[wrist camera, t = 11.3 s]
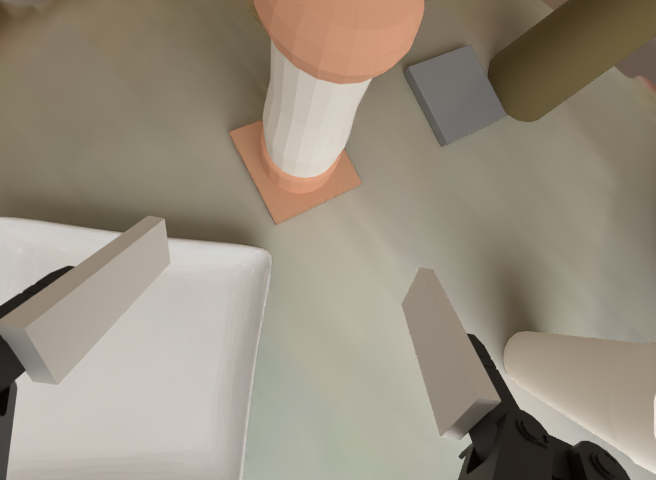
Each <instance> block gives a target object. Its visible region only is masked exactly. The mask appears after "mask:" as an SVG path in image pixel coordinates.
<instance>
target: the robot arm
mask: <svg viewBox="0 0 656 480" xmlns="http://www.w3.org/2000/svg"><path fill="white" fill-rule="evenodd" d="M170 263H171V262H170V255H169V247H168V240H167V232H166V225H165V218H159V217H154V216H149V215H148V216H147V217H145V218H144V219H143V220H141V221H140V222H138V223H137V224H135V225H134V226H133V227H131V228H130V229H128V230H127V231H125V232H124V233H123V234H121V235H120V236H118V237H117V238H116V239H114V240H113V241H111V242H110V243H108V244H107V245H106V246H104V247H103V248H101V249H100V250H98V251H97V252H96V253H94V254H93V255H91V256H90V257H88V258H87V259H86V260H84V261H83V262H81V263H80V264H78V265H77V266H76V267H75V266H69V265H68V266H66V267H63V268H61V269H58V270H56V271H54V272H51V273H49V274H48V275H46V276H45V277H43V278H42V279H40V280H39V281H37V282H36V283H35V285H31V286H30V287H28V288H26V289H25V290H23V292H22V293H19V294H17V295H16V296H14V297H13V298H11V299H10V300H8V301H7V302H5V303H4V304H2V305H1V306H0V480H6V476H7V468H8V460H9V452H10V444H11V436H12V428H13V420H14V412H15V404H16V396H17V384H16V381H15V380H16V379H17V378H18V377H19V376H20V375H22V374H23V373H24V372H25V371H26V373H27V374H28V376H29V377H30V379H31V380H32V382H39V383H46V384H53V385H58V384H59V383H60V382H61V381H62V380H63V379H64V378H65V377H66V376H67V375H68V374H69V373H70V371H71V370H72V369H73V368H74V367H75V366H76V365H77V364H78V363H79V362H80V361H81V360H82V358H83V357H84V356H85V355H86V354H87V353H88V352H89V351H90V350H91V349H92V348H93V347H94V345H95V344H96V343H97V342H98V341H99V340H100V339H101V338H102V337H103V336H104V335H105V334H106V332H107V331H108V330H109V329H110V328H111V327H112V326H113V325H114V324H115V323H116V322H117V321H118V319H119V318H120V317H121V316H122V315H123V314H124V313H125V312H126V311H127V310H128V309H129V308H130V307H131V305H132V304H133V303H134V302H135V301H136V300H137V299H138V298H139V297H140V296H141V295H142V294H143V292H144V291H145V290H146V289H147V288H148V287H149V286H150V285H151V284H152V283H153V282H154V281H155V279H156V278H157V277H158V276H159V275H160V274H161V273H162V272H163V271H164V270H165V269H166V268H167V266H168V265H169V264H170ZM402 307H403V311H404V314H405V318H406V321H407V324H408V328H409V331H410V335H411V338H412V341H413V345H414V348H415V352H416V355H417V358H418V362H419V365H420V369H421V372H422V375H423V379H424V382H425V386H426V389H427V392H428V396H429V399H430V403H431V406H432V409H433V413H434V416H435V420H436V423H437V426H438V430H439V433H440V437H443V438H451V439H458V440H461V439H462V438H463V437H464V436H465V435H466V434H467V433H468V432H469V435H470V437H471V440H472V444H470V445H469V446H468V447H467V448H466V449H465V450H464V451H462V452H461V454H460V455H459V458H460V459H462V458H464V457H465V456H466V457H465V460H464V463H463V466H462V469H461V472H460V475H459V479H458V480H630V478H629V476H628V475H627V473H626V471H625V470H624V469H623V467H622V466H621V465H620V464H619V463H618V461H617V460H616V459H615V458H614V457H612V456H611V455H610V454H609V453H608V452H607V451H606V450H604V449H603V448H601V447H600V446H598V445H597V444H595V443H592V442H590V441H581V442H579V443H578V444H576V445H574V446H572V445H570V444H568V443H566V442H564V441H561V440H559V439H557V438H555V437H553V436H551V435H549V434H548V433H547V431H546V430H545V429H544V427H543V426H542V425H541V424H540V423H539V422H538V421H537V420H536V419H535V418H534V417H533V416H532V415H530V414H528V413H527V412H525V411H523V410H520V408H519V407H518V405H517V403H516V401H515V400H514V398H513V396H512V394H511V392H510V391H509V389H508V387H507V385H506V384H505V382H504V380H503V378H502V376H501V375H500V373H499V371H498V370H497V369H496V366H495V364H494V362H493V360H491V357H490V355H489V353H488V352H487V350H486V348H485V346H484V345H483V344H482V343H481V342H480V341H479V340H478V338H477V337H476V336H475V335H473V334H467V333H466V332H465V330H464V328H463V326H462V324H461V322H460V320H459V318H458V316H457V314H456V312H455V311H454V309H453V307H452V305H451V303H450V301H449V299H448V297H447V295H446V293H445V291H444V289H443V287H442V285H441V284H440V282H439V280H438V278H437V276H436V274H435V272H434V270H430V269H425V268H419V271H418V273H417V275H416V277H415V279H414V281H413V283H412V285H411V287H410V289H409V291H408V293H407V295H406V297H405V299H404V301H403V303H402Z"/></svg>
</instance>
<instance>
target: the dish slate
mask: <svg viewBox="0 0 656 480" xmlns="http://www.w3.org/2000/svg"><path fill="white" fill-rule="evenodd" d="M404 74H405V76H406V78H407V80H408V82H409V84H410V86H411V88H412V90H413V92H414V94H415V96H416V98H417V100H418V102H419V104H420V106H421V108H422V110H423V112H424V114H425V116H426V118H427V120H428V122H429V123H430V125H431V127H432V129H433V131H434V133H435V135H436V137H437V139H438V141H439V143H440V145H441V147H442V146H444V145H447V144H449V143H451V142H453V141H455V140H457V139H459V138H461V137H463V136H466V135H468V134H470V133H472V132H474V131H476V130H478V129H480V128H483V127H485V126H487V125H489V124H491V123H493V122H495V121H497V120H499V119H501V118H503V117H504V116H506V113H505V111H504V109H503V107H502V105H501V103H500V101H499V99H498V97H497V95H496V93H495V91H494V89H493V87H492V85H491V83H490V81H489V79H488V77H487V76H486V74H485V72H484V70H483V68H482V66H481V64H480V62H479V60H478V58H477V56H476V54H475V52H474V50H473V48H472V46H471V44H470V45H467V46H465V47H462V48H459V49H456V50H454V51H451V52H448V53H445V54H443V55H440V56H437V57H434V58H432V59H429V60H426V61H423V62H420V63H418V64H415V65H412V66H409V67H408V68H407V69H406V71H405V72H404Z"/></svg>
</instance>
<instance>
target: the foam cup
mask: <svg viewBox="0 0 656 480" xmlns="http://www.w3.org/2000/svg"><path fill="white" fill-rule="evenodd" d="M503 363H504V366H505V370H506V373H507V375H508V376H509V377H510V378H511V379H512V381H513V382H514V383H516V384H518V385H519V386H520V387H522V388H523V389H525V390H526V391H528V392H529V393H531V394H532V395H534V396H536V397H537V398H539V399H540V400H542V401H543V402H545V403H547V404H548V405H550V406H551V407H553V408H554V409H556V410H558V411H559V412H561V413H562V414H564V415H565V416H567V417H568V418H570V419H572V420H573V421H575V422H576V423H578V424H579V425H581V426H583V427H584V428H586V429H587V430H589V431H590V432H592V433H594V434H595V435H597V436H598V437H600V438H601V439H603V440H604V441H606V442H608V443H609V444H611V445H612V446H614V447H615V448H617V449H619V450H620V451H622V452H623V453H625V454H626V455H628V456H629V457H630V458H631V459H632V460H633V461H634V463H636V464H638V465H640V466H641V467H643V468H645V469H647V470H649V471H651V472H653V473H654V474H656V343H655V342H652V343H646V344H642V343H633V342H624V341H615V340H606V339H596V338H587V337H578V336H569V335H560V334H551V333H542V332H533V331H532V332H529V331H523V332H517V333H516V334H514V335H513V336H512V337H511V338H509V340H508V342H507V344H506V346H505V348H504V357H503Z"/></svg>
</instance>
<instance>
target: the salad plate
mask: <svg viewBox="0 0 656 480" xmlns="http://www.w3.org/2000/svg"><path fill="white" fill-rule="evenodd" d="M123 233H124V232H117V231H110V230H103V229H95V228H88V227H82V226H74V225H68V224H61V223H55V222H48V221H42V220H35V219H27V218H17V217H0V306H1V305H2V304H4V303H5V302H7V301H8V300H10V299H11V298H13V297H14V296H16V295H17V294H19V293H22V292H23V290H25V289H26V288H28V287H30V286H31V285H35V283H36V282H37V281H39V280H40V279H42V278H43V277H45V276H46V275H48V274H49V273H51V272H54V271H56V270H58V269H61V268H63V267H66V266H68V265H69V266H75V267H76V266H77V265H78V264H80V263H81V262H83V261H84V260H86V259H87V258H88V257H90V256H91V255H93V254H94V253H96V252H97V251H98V250H100V249H101V248H103V247H104V246H106V245H107V244H108V243H110V242H111V241H113V240H114V239H116V238H117V237H118V236H120V235H121V234H123ZM167 240H168V247H169V255H170V262H171V263H170V264H169V265H168V266H167V268H166V269H165V270H164V271H163V272H162V273H161V274H160V275H159V276H158V277H157V278H156V279H155V281H154V282H153V283H152V284H151V285H150V286H149V287H148V288H147V289H146V290H145V291H144V292H143V294H142V295H141V296H140V297H139V298H138V299H137V300H136V301H135V302H134V303H133V304H132V305H131V307H130V308H129V309H128V310H127V311H126V312H125V313H124V314H123V315H122V316H121V317H120V318H119V319H118V321H117V322H116V323H115V324H114V325H113V326H112V327H111V328H110V329H109V330H108V331H107V332H106V334H105V335H104V336H103V337H102V338H101V339H100V340H99V341H98V342H97V343H96V344H95V345H94V347H93V348H92V349H91V350H90V351H89V352H88V353H87V354H86V355H85V356H84V357H83V358H82V360H81V361H80V362H79V363H78V364H77V365H76V366H75V367H74V368H73V369H72V370H71V371H70V373H69V374H68V375H67V376H66V377H65V378H64V379H63V380H62V381H61V382H60V383H59V384H58V385H53V384H46V383H39V382H32V380H31V379H30V377H29V376H28V374H27V373H26V371H25V372H24V373H23V374H22V375H20V376H19V377H18V378H17V379H16V380H15V381H16V384H17V396H16V404H15V412H14V420H13V428H12V436H11V444H10V452H9V460H8V468H7V476H6V480H242V479H243V471H244V462H245V452H246V442H247V433H248V423H249V415H250V406H251V398H252V389H253V381H254V373H255V367H256V360H257V353H258V346H259V340H260V335H261V329H262V323H263V318H264V313H265V308H266V303H267V298H268V292H269V286H270V278H271V270H272V257H271V253H270V252H269V251H267V250H266V249H263V248H260V247H256V246H249V245H242V244H235V243H223V242H214V241H202V240H191V239H180V238H169V237H167Z"/></svg>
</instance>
